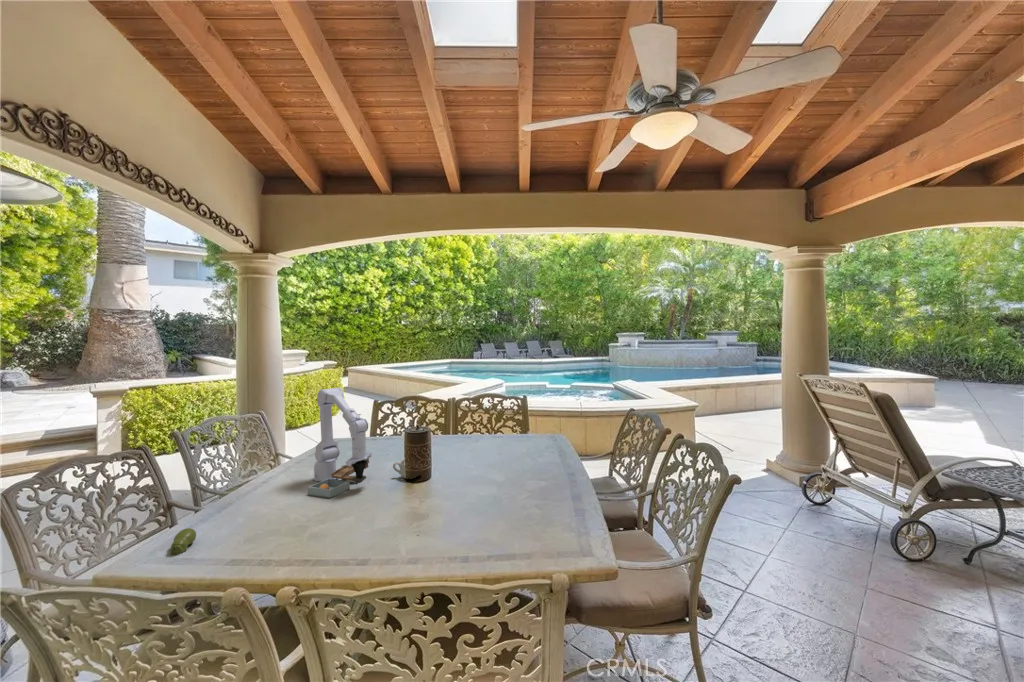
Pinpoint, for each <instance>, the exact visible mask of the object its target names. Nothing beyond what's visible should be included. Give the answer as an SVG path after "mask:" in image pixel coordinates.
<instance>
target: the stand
mask: <svg viewBox="0 0 1024 682" xmlns="http://www.w3.org/2000/svg"><path fill="white" fill-rule="evenodd" d="M345 465H346V464H344V465H341V466H340V468H341V467H343V466H345ZM355 477H357V476H356V475H355ZM341 480H345V481H350V484H352V483H353V485H358V483H359V484H360V482H356V481H353V480H347V479H341ZM361 483H362V481H361Z"/></svg>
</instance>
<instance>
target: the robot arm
mask: <svg viewBox="0 0 1024 682" xmlns="http://www.w3.org/2000/svg"><path fill="white" fill-rule="evenodd" d="M316 395H317V397H316V399H317V407H319V419H320V436H321V437H320V442H318V444H317V445H315V452H314V457H315V460H316V461H315V463H314V465H313V466H314V467H313V476H314V478H313V479H312V480H313V481H317V482H321V481H323V480H325V479H328V478H331V479H338V478H332V474H331V473H333V472H335V471H336V470H337V460H338V457H339V456H340V454H341V452H340V451H341V449H340V447H339V443H338V441H336V440H334V430H333V413H332V408H333V406H334V405H335V406H336V407H337V408H338V409H339V411H341V412H342V415H341V416H342V418H343V419H344V421H345V422H346V423H347V425H348V430H349V435H350V437H351V452H352V453H351V454H352V455H351V457H350V458H349V459H348V460H346V461H345V465H346V466H351V465H352V466H353V468H354V470H355V472H354V473H355V477H356V476H357V478H362V476H364V471H365V469H364V468H365V466H366V464H367V460H366V459H368V458H369V459H370V458H372V455H373V454H372V452H367V450H366V448H367V446H366V445H367V444H366V443H367V442H366V441H367V439H366V436H367V435H366V432H367V431H368V430H369V423H368V421H367V419H366V418H363V417H360V415H359V414H358V412H357V411H356V410H355V409H354V408H352V407H350V406H349V405H348V402H347V400H346V399H345V398H344V391H343V389H342V388H341V387H339V386H338V387H331V388H326V389H324V388H322V389H319V390H318V392H317V394H316Z"/></svg>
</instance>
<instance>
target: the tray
mask: <svg viewBox="0 0 1024 682" xmlns="http://www.w3.org/2000/svg"><path fill="white" fill-rule="evenodd" d="M322 484H327V485H328V486H329V489H323V488H319V487H320V486H321V485H322ZM350 484H351V483H350V481H345V480H342V479H338V478H337V479H331V478H328V479H325V480H323V481H317V482H316V483H314V484H311V485H309V486H308V487H307V495H308V496H311V495H312V496H313V497H317V496H319V498H323V497H324V499H329V498H330V499H332V498H334V497H336V496H338V495H340V494H342V493H344V492H346V491H348V489H349V490H350V487H351V485H350Z"/></svg>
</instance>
